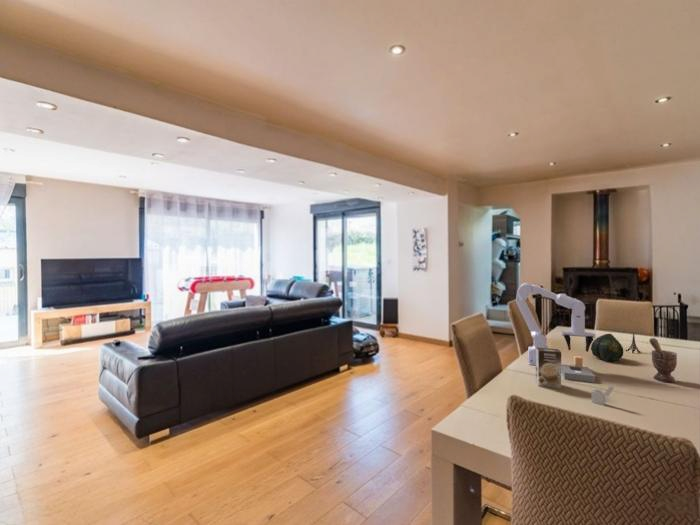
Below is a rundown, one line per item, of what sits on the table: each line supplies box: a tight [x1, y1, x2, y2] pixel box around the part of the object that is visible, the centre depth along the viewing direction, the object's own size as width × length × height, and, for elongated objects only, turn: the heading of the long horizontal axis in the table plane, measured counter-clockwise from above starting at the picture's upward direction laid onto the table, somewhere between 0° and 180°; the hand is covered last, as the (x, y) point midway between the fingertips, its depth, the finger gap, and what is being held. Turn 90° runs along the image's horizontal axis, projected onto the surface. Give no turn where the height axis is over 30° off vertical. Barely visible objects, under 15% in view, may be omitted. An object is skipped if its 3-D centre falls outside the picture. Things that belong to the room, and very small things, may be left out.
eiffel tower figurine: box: [626, 331, 642, 354], centre depth 206 cm, size 15×10×13 cm
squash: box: [590, 333, 624, 362], centre depth 192 cm, size 14×15×15 cm
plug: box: [573, 355, 583, 367], centre depth 177 cm, size 3×4×6 cm
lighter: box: [591, 384, 615, 406], centre depth 134 cm, size 7×2×8 cm, turn 43°
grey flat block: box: [561, 363, 596, 383], centre depth 166 cm, size 12×14×3 cm
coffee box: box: [535, 347, 562, 389], centre depth 155 cm, size 9×6×16 cm
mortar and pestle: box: [649, 337, 678, 384], centre depth 158 cm, size 12×9×20 cm
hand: (578, 350), depth 176 cm, fingers open, 7 cm apart
